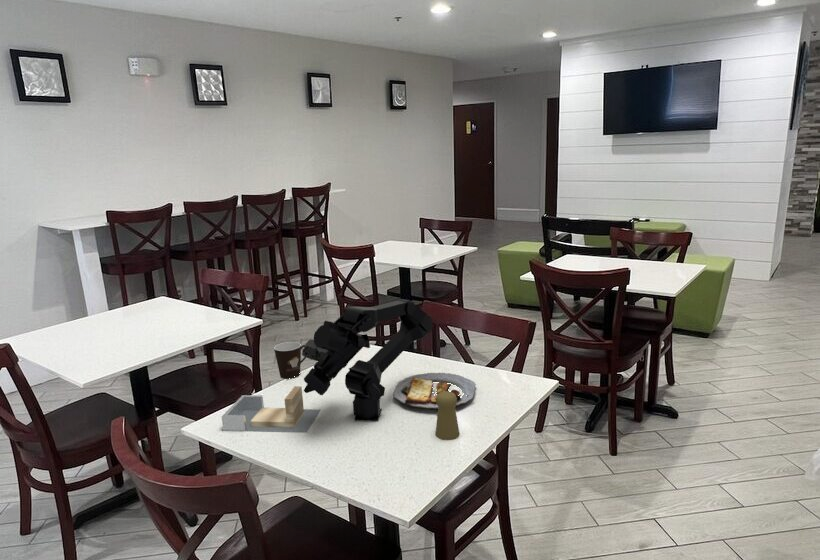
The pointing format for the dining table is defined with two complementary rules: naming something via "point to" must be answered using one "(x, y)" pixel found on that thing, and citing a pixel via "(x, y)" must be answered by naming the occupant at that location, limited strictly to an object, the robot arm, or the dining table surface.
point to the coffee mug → (289, 359)
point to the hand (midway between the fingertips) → (305, 391)
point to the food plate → (431, 389)
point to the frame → (241, 412)
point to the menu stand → (282, 412)
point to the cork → (446, 416)
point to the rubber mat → (299, 428)
